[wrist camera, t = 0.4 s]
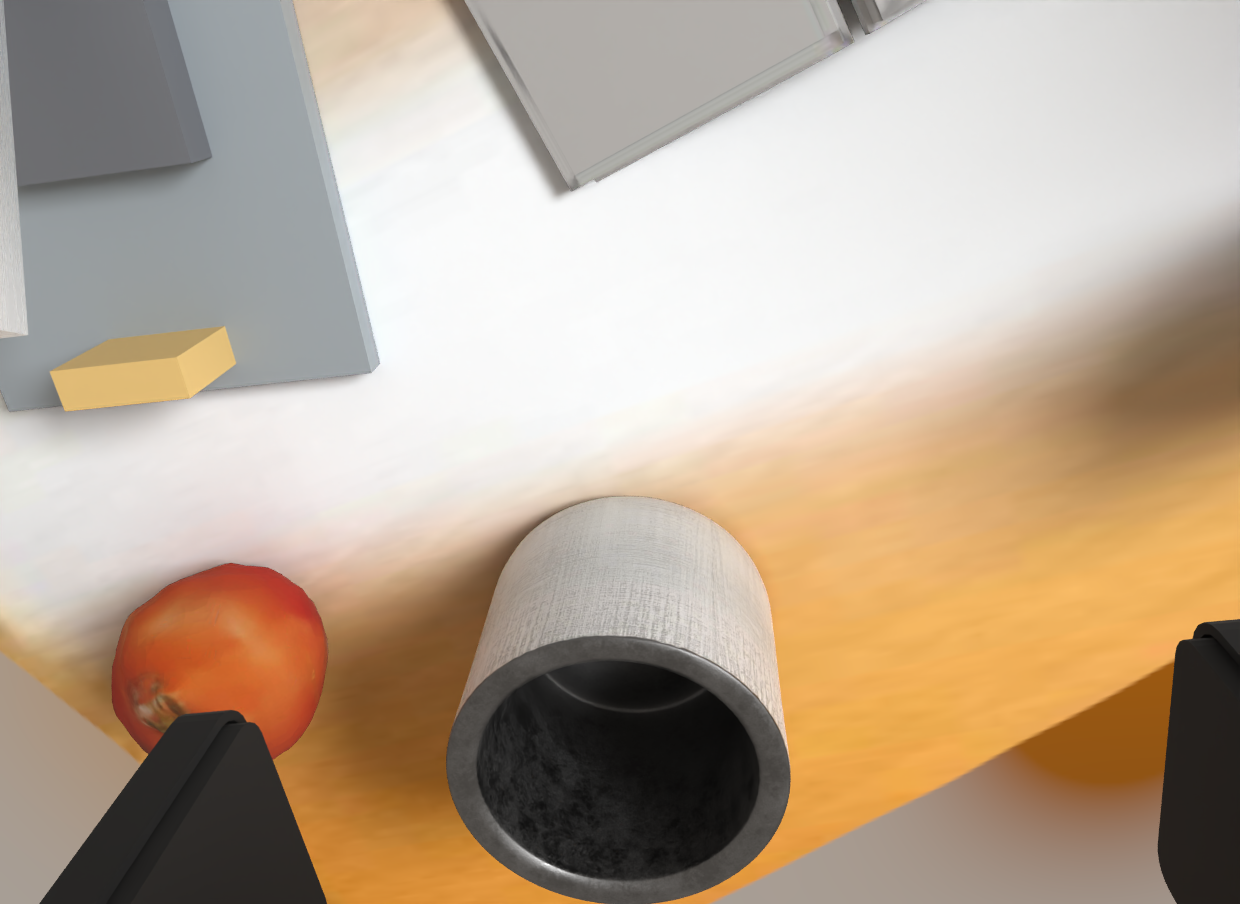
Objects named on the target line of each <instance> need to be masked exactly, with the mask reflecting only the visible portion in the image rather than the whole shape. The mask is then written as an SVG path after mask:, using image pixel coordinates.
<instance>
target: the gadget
mask: <svg viewBox="0 0 1240 904" xmlns="http://www.w3.org/2000/svg"><path fill="white" fill-rule="evenodd" d="M464 1H465V3H466V4H467V6H468V8H469V10H470V12H471V13H472V15H473V17H474V19H475V20H476V22H477V24H478V26H479V28H480V29H481V31H482V33H483V35H484V37H485V38H486V40H487V42H488V44H489V45H490V47H491V49H492V51H493V53H494V54H495V56H496V58H497V60H498V62H499V63H500V65H501V67H502V69H503V71H504V72H505V74H506V76H507V78H508V79H509V81H510V83H511V85H512V87H513V88H514V90H515V92H516V94H517V96H518V97H519V99H520V101H521V103H522V104H523V106H524V108H525V110H526V112H527V113H528V115H529V117H530V119H531V121H532V122H533V124H534V126H535V128H536V130H537V131H538V133H539V135H540V137H541V138H542V140H543V142H544V144H545V146H546V147H547V149H548V151H549V153H550V155H551V156H552V158H553V160H554V162H555V163H556V165H557V167H558V169H559V171H560V172H561V174H562V176H563V178H564V180H565V181H566V183H567V185H568V187H569V189H570V190H571V192H572V191H573V190H575V189H577V188H579V187H581V186H583V185H584V184H586V183H588V182H590V181H592V180H594V179H595V181H596V182H598V181H600V180H602V179H604V178H606V177H607V176H609V175H611V174H613V173H615V172H617V171H618V170H620V169H622V168H624V167H626V166H628V165H630V164H631V163H633V162H635V161H637V160H639V159H641V158H642V157H644V156H646V155H648V154H650V153H652V152H653V151H655V150H657V149H659V148H661V147H663V146H664V145H666V144H668V143H670V142H672V141H674V140H676V139H677V138H679V137H681V136H683V135H685V134H687V133H688V132H690V131H692V130H694V129H696V128H698V127H699V126H701V125H703V124H705V123H707V122H709V121H710V120H712V119H714V118H716V117H718V116H720V115H722V114H723V113H725V112H727V111H729V110H731V109H733V108H734V107H736V106H738V105H740V104H742V103H744V102H745V101H747V100H749V99H751V98H753V97H755V96H757V95H758V94H760V93H762V92H764V91H766V90H768V89H769V88H771V87H773V86H775V85H777V84H779V83H780V82H782V81H784V80H786V79H788V78H790V77H791V76H793V75H795V74H797V73H799V72H801V71H803V70H804V69H806V68H808V67H810V66H812V65H814V64H815V63H817V62H819V61H821V60H823V59H825V58H826V57H828V56H830V55H832V54H834V53H836V52H838V51H839V50H841V49H843V48H845V47H847V46H849V45H850V44H852V43H854V39H853V37H852V34H851V32H850V30H849V27H848V25H847V23H846V20H845V18H844V16H843V13H842V11H841V9H840V6H839V4H838V2H837V0H464ZM924 1H926V0H851V2H852V4H853V6H854V9H855V11H856V14H857V16H858V18H859V21H860V23H861V25H862V28H863V30H864V33H865V35H866V34H870V33H872V32H873V31H875V30H877V29H878V28H880V27H882V26H884V25H885V24H887V23H889V22H890V21H892V20H894V19H895V18H897V17H899V16H901V15H902V14H904V13H906V12H907V11H909V10H911V9H912V8H914V7H916V6H917V5H919V4H921V3H923V2H924Z"/></svg>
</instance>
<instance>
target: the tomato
mask: <svg viewBox="0 0 1240 904" xmlns="http://www.w3.org/2000/svg"><path fill="white" fill-rule="evenodd" d="M327 660H328V641H327V636H326V634H325V631H324V628H323V624H322V620H321V617H320V616H319V614H318V611H317V609H316V607H315V604H314V602H313V601H312V600H311V599H309V598H308V596H307V595H306V593H305V592H304V590H303V589H302V588H300V587H299V586H297V585H296V584H294V583H292V582H291V581H290V580H289V579H287V578H286V577H284V576H283V575H282V574H280V573H278V572H276V571H274V570H272V569H270V568H266V567H257V566H244V565H239V564H233V563H229V564H224V565H221V566H217V567H214V568H212V569H210V570H206V571H203V572H200V573H197V574H195V575H193V576H190V577H187V578H184V579H181V580H179V581H177V582H175V583H172V584H170V585H168V586H167V587H165V588H164V589H162V590H161V591H160V592H159V593H158V594H157V595H155V596H154V597H153V598H152V599H150V600H149V601H147V602H146V603H145V604H143V605H142V606H140V607H139V608H137V609H136V610H135V611H134V612H132V613H131V614H130V615H129V617H128V618H127V620H126V622H125V624H124V626H123V629H122V632H121V635H120V639H119V642H118V645H117V648H116V655H115V659H114V662H113V666H112V685H111V687H112V703H113V708H114V711H115V713H116V716H117V717H118V718H119V720H120V721H121V722H122V724H123V725H124V726H125V728H126V729H127V731H128V732H129V733H130V735H131V736H132V738H133V739H134V740H135V741H136V742H137V743H138V744H139V745H140V747H141V748H142V749H143V750H144V751H145V752H146V753H148V754H149V753H150V752H151V751H152V749H153V748H154V747H155V745H156V744H157V743H158V741H159V740H160V738H161V737H162V736H163V734H164V733H165V732H166V730H167V729H168V728H169V726H170V725H171V723H172V722H173V721H174V720H175V719H176V718H177V717H179V716H181V715H184V714H191V713H202V712H213V711H224V710H235V711H238V712H239V713H241V714H242V715H243V716H244V718H245V720H246V721H247V722H252V723H255V724H256V725H257V726H259V728H260V730H261V732H262V734H263V737H264V739H265V742H266V744H267V747H268V750H269V752H270V755H271V757H272V760H273V759H275V758H276V757H277V756H279V755H280V754H282V753H283V752H285V751H287V750H288V749H289V748H290V747H292V746H293V745H294V744H295V743H296V742H297V740H298V739H299V738H300V737H301V736H302V734H303V733H304V732H305V730H306V728H307V727H308V725H309V723H310V722H311V720H312V718H313V715H314V713H315V710H316V708H317V705H318V702H319V699H320V696H321V693H322V688H323V683H324V678H325V671H326V667H327Z"/></svg>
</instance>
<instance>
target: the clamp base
mask: <svg viewBox="0 0 1240 904" xmlns="http://www.w3.org/2000/svg"><path fill="white" fill-rule="evenodd" d="M3 2H4V16H5V29H6V43H7V56H8V69H9V83H10V96H11V110H12V123H13V136H14V150H15V163H16V176H17V190H18V203H19V217H20V230H21V243H22V257H23V270H24V284H25V297H26V310H27V324H28V335H26V336H17V337H8V338H0V391H1V393H2V395H3V398H4V400H5V403H6V405H7V408H8V410H9V412H10V411H19V410H29V409H38V408H48V407H57V406H63V408H64V410H65V412H66V411H75V410H84V409H94V408H103V407H113V406H122V405H132V404H141V403H151V402H160V401H169V400H179V399H188V398H191V397H192V396H194V395H195V394H197V393H198V392H199V391H207V390H216V389H226V388H235V387H244V386H254V385H263V384H272V383H282V382H291V381H301V380H310V379H319V378H329V377H338V376H347V375H357V374H366V373H372V372H373V371H374V370H375V368H376V367H377V366H378V365H379V364H380V361H379V357H378V353H377V349H376V345H375V341H374V337H373V332H372V328H371V324H370V320H369V316H368V312H367V308H366V303H365V299H364V295H363V291H362V287H361V283H360V279H359V274H358V270H357V266H356V262H355V258H354V254H353V250H352V246H351V241H350V237H349V233H348V229H347V225H346V221H345V217H344V212H343V208H342V204H341V200H340V196H339V192H338V188H337V183H336V179H335V175H334V171H333V167H332V163H331V159H330V154H329V150H328V146H327V142H326V138H325V134H324V130H323V125H322V121H321V117H320V113H319V109H318V105H317V101H316V97H315V92H314V88H313V84H312V80H311V76H310V72H309V68H308V63H307V59H306V55H305V51H304V47H303V43H302V39H301V34H300V30H299V26H298V22H297V18H296V14H295V10H294V5H293V1H292V0H3Z"/></svg>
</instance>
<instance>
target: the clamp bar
mask: <svg viewBox="0 0 1240 904" xmlns="http://www.w3.org/2000/svg"><path fill="white" fill-rule="evenodd" d="M26 335H28V324H27V310H26V297H25V284H24V270H23V257H22V243H21V230H20V217H19V203H18V190H17V176H16V163H15V150H14V136H13V123H12V110H11V96H10V83H9V69H8V56H7V43H6V29H5V16H4V2H3V0H0V338H8V337H17V336H26Z"/></svg>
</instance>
